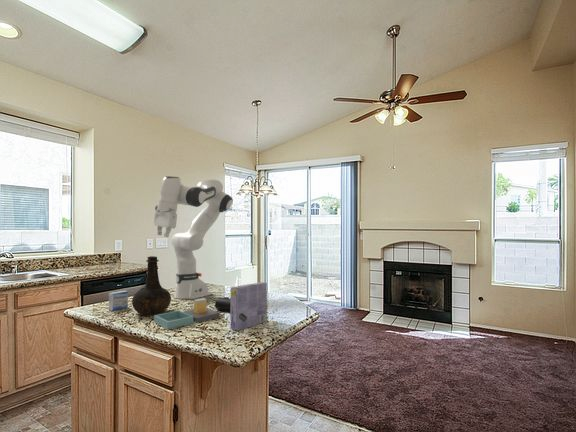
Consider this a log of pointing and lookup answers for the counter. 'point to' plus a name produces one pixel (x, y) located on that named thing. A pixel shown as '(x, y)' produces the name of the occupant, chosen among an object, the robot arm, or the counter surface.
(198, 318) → the socket block
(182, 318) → the parts tray
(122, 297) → the medicine box
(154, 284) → the dark brown vase
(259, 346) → the counter surface
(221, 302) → the end cap
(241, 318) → the cake pan box
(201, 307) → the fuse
